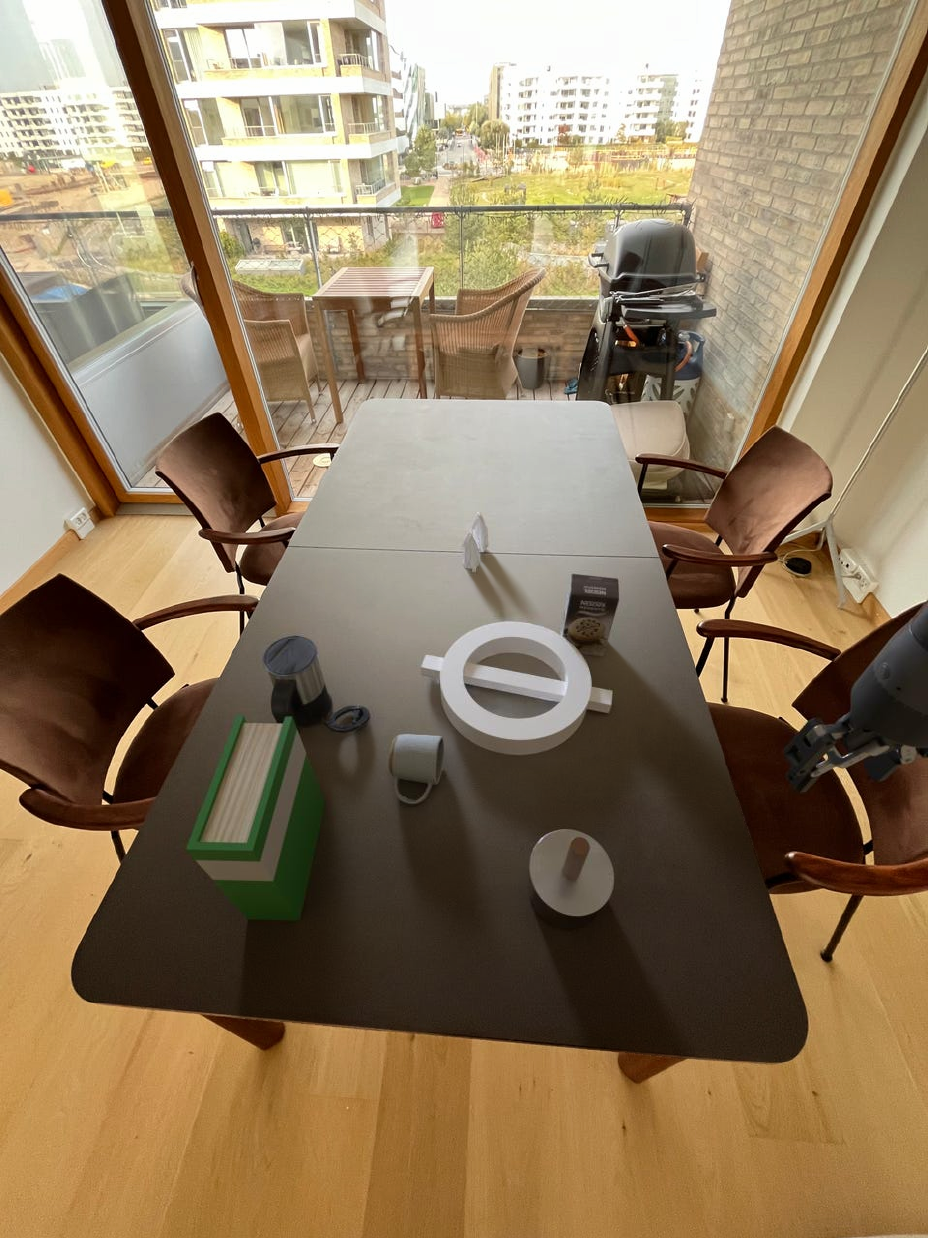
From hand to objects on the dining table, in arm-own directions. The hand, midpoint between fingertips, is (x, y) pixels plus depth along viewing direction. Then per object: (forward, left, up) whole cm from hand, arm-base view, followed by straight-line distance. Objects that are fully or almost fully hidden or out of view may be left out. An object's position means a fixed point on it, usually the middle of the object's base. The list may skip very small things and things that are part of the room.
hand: (833, 779), depth 56 cm
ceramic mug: (+39, +30, -33) cm, 59 cm away
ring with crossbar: (+46, +6, -33) cm, 57 cm away
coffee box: (+49, -13, -33) cm, 61 cm away
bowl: (+12, +20, -33) cm, 40 cm away
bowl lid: (+12, +20, -26) cm, 35 cm away
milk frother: (+59, +39, -33) cm, 78 cm away
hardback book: (+37, +53, -33) cm, 73 cm away
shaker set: (+85, -9, -33) cm, 92 cm away
